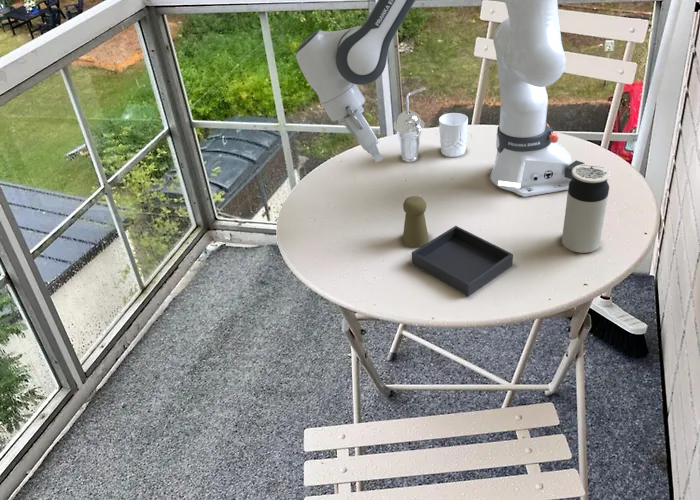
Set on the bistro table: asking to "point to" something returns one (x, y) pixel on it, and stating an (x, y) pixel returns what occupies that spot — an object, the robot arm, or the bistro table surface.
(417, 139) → the cup with straw
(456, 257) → the bin
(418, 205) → the olive pawn
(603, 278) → the bistro table surface
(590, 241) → the travel mug
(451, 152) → the white cup
